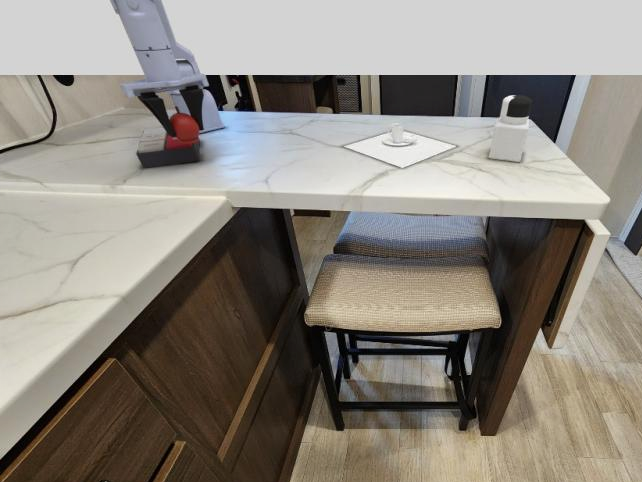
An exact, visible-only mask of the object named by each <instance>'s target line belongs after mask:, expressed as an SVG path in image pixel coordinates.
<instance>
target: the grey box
mask: <svg viewBox="0 0 642 482" xmlns="http://www.w3.org/2000/svg"><path fill="white" fill-rule="evenodd" d="M200 146H201V140H200V138H199V141H198V142H195V143H191V144H182V143H180V141H179V139H178V138H176V137H171V136H168V134H167V132H166V131H165V129H164V128H163V126H161V127H151V128H144V129H143V131H142V133H141V136H140V139H139V143H138V147H137V150H136V154H135V155H136V157H137V159H138V160H139V163H140V165H141V166H142V168H143V169H147V168H155V167H162V166H171V165H178V164H186V163H194V162H199V161H200V159H201V157H200V156H201V155H200Z"/></svg>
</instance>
